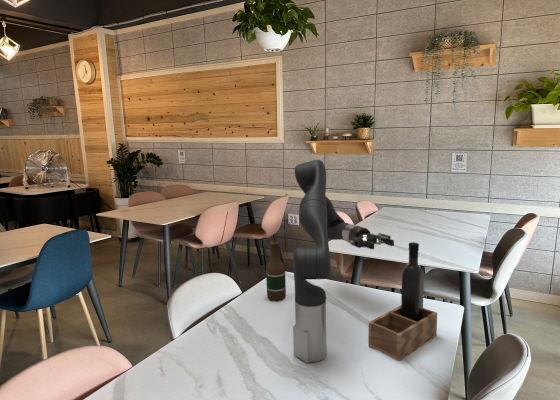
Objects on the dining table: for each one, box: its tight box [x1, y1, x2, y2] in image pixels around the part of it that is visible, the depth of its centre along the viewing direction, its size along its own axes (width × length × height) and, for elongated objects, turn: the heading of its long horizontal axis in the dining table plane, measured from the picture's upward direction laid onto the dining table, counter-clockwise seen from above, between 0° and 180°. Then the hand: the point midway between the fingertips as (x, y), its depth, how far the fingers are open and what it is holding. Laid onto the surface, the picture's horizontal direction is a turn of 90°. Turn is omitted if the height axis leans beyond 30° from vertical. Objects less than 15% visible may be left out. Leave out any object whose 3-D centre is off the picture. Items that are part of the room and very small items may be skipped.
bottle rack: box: [368, 305, 438, 362], centre depth 122 cm, size 21×11×8 cm, turn 130°
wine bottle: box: [400, 242, 425, 322], centre depth 123 cm, size 6×6×30 cm
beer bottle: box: [265, 240, 287, 303], centre depth 156 cm, size 8×8×24 cm
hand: (383, 244), depth 134 cm, fingers open, 8 cm apart
